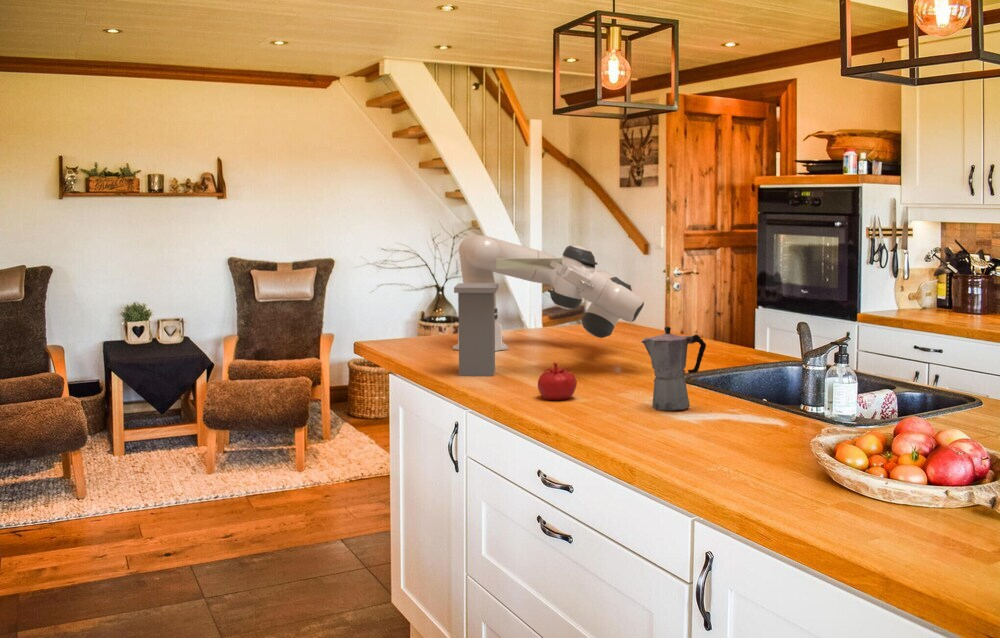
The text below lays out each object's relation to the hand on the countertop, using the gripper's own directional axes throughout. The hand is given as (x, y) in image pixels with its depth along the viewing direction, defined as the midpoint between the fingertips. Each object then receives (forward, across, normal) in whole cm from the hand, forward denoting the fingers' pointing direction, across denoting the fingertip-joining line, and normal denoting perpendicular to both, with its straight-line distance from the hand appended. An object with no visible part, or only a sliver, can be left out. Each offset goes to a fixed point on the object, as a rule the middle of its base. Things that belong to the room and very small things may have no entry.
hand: (550, 262), depth 272 cm
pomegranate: (-18, -35, -28) cm, 48 cm away
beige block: (+4, 0, -5) cm, 7 cm away
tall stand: (+2, 0, -39) cm, 39 cm away
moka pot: (-42, -46, -14) cm, 63 cm away
